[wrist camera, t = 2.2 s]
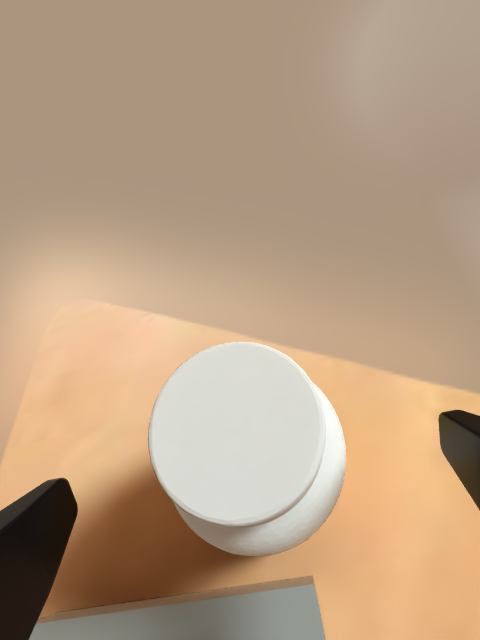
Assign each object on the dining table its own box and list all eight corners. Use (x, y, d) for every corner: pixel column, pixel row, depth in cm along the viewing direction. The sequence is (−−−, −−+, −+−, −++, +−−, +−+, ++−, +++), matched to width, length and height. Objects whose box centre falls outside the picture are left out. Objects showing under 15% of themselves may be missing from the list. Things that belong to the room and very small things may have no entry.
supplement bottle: (225, 408, 17) (158, 308, 9) (331, 422, 16) (364, 320, 8) (203, 527, 15) (77, 539, 6) (327, 554, 14) (371, 610, 5)
